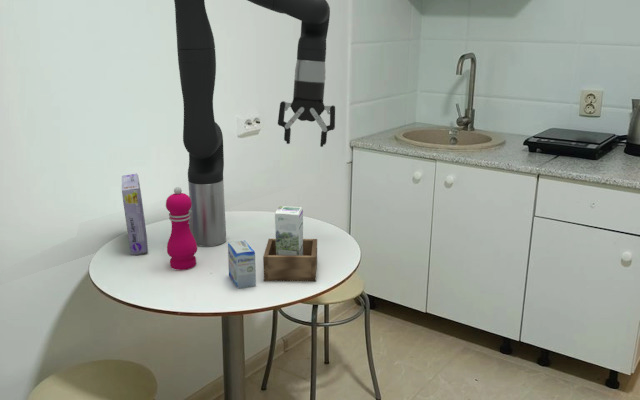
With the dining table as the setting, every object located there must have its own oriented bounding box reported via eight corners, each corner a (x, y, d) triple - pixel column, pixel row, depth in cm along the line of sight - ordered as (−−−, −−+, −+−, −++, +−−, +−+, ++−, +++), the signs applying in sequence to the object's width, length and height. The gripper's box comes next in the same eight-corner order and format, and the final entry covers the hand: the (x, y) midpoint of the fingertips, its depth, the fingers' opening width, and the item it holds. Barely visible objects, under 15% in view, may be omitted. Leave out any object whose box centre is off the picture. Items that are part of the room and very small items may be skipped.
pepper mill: (203, 261, 147) (198, 184, 142) (188, 272, 141) (182, 192, 135) (178, 258, 150) (172, 182, 144) (162, 268, 143) (155, 189, 137)
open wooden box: (263, 281, 136) (263, 256, 134) (269, 261, 148) (268, 238, 146) (315, 281, 136) (315, 257, 134) (317, 261, 147) (317, 238, 146)
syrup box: (304, 262, 144) (303, 206, 140) (299, 272, 139) (298, 213, 134) (281, 261, 145) (279, 204, 141) (275, 270, 139) (274, 212, 135)
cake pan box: (127, 232, 168) (121, 172, 163) (145, 230, 170) (140, 171, 165) (128, 256, 151) (121, 190, 146) (148, 254, 152) (142, 188, 147)
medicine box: (228, 276, 139) (226, 241, 136) (246, 273, 141) (245, 239, 138) (237, 289, 132) (236, 253, 130) (256, 286, 134) (255, 250, 131)
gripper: (279, 77, 142) (275, 144, 145) (338, 82, 141) (332, 149, 145) (282, 77, 149) (278, 140, 153) (338, 81, 149) (333, 145, 152)
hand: (305, 144), depth 149 cm, fingers open, 8 cm apart
